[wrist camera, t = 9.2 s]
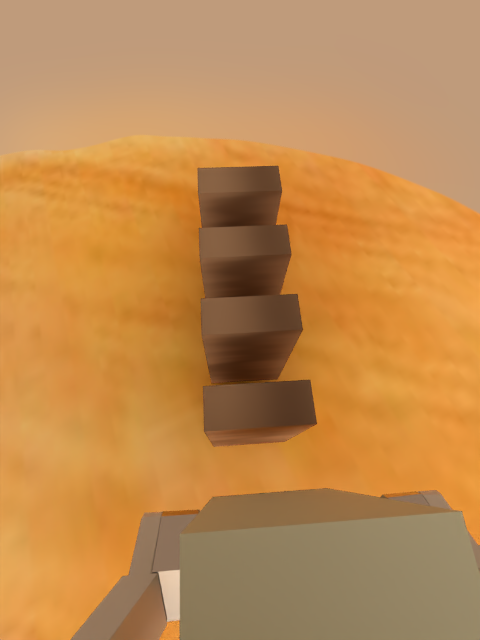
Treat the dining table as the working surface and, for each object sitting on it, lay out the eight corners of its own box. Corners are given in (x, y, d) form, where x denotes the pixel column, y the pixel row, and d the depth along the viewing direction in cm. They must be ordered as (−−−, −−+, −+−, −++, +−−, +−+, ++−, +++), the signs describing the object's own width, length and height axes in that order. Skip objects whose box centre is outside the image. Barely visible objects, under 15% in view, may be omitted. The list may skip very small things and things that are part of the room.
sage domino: (214, 551, 14) (179, 689, 5) (213, 497, 15) (179, 534, 6) (334, 541, 15) (503, 656, 5) (326, 488, 15) (461, 511, 6)
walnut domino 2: (209, 327, 28) (199, 258, 19) (208, 305, 29) (198, 227, 20) (271, 324, 28) (291, 254, 19) (268, 302, 29) (286, 224, 20)
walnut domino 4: (213, 446, 24) (204, 431, 15) (212, 417, 25) (203, 386, 16) (284, 441, 25) (316, 423, 16) (281, 412, 25) (310, 379, 16)
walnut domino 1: (207, 279, 30) (198, 193, 21) (207, 259, 31) (197, 168, 21) (266, 276, 30) (281, 190, 21) (263, 257, 31) (278, 165, 22)
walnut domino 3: (211, 383, 26) (201, 334, 17) (210, 357, 27) (200, 298, 18) (277, 379, 26) (302, 329, 17) (274, 354, 27) (297, 294, 18)
